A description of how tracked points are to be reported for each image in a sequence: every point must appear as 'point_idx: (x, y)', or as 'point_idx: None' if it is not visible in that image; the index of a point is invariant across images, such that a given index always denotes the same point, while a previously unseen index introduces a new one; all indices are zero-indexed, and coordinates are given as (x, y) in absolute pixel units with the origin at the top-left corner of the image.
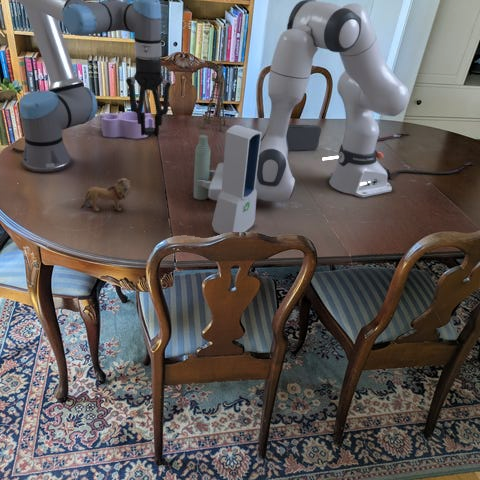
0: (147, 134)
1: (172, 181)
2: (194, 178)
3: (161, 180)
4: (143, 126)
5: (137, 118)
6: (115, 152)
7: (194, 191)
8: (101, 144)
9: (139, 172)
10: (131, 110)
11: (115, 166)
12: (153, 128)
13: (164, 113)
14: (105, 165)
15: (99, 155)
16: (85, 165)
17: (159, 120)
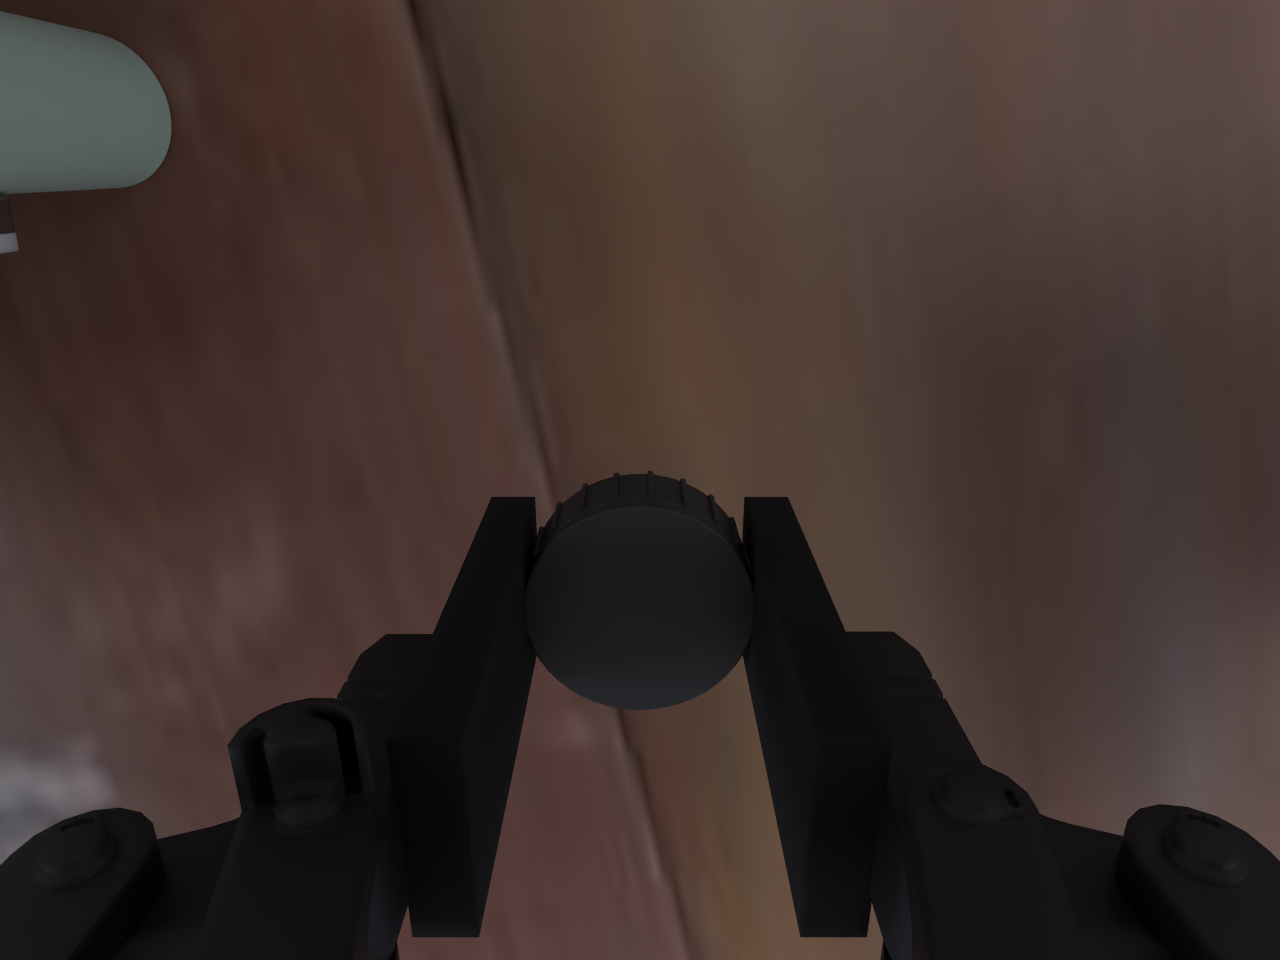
0: (669, 486)
1: (444, 376)
2: (14, 58)
3: (546, 374)
4: (766, 589)
5: (948, 709)
6: None
7: (107, 59)
8: None
9: (772, 490)
10: (1234, 836)
11: (1000, 560)
12: (586, 669)
13: (96, 828)
14: (1090, 560)
15: (1158, 729)
16: (1269, 524)
17: (378, 710)
